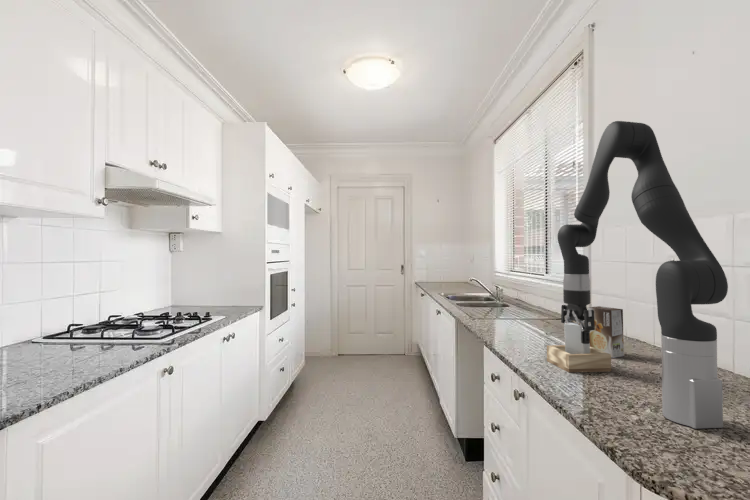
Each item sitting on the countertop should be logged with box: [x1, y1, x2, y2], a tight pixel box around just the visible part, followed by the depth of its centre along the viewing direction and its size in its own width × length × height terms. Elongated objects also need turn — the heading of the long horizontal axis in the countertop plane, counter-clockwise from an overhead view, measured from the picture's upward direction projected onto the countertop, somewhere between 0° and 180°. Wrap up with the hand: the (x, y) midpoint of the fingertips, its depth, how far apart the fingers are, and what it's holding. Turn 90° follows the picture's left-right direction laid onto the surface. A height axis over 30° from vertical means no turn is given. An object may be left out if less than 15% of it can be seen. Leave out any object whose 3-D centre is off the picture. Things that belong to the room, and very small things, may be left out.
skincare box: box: [563, 321, 590, 354], centre depth 125 cm, size 6×4×12 cm
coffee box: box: [587, 305, 625, 359], centre depth 140 cm, size 9×6×16 cm
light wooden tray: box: [546, 344, 612, 373], centre depth 125 cm, size 13×13×5 cm
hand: (577, 340), depth 125 cm, fingers open, 8 cm apart
